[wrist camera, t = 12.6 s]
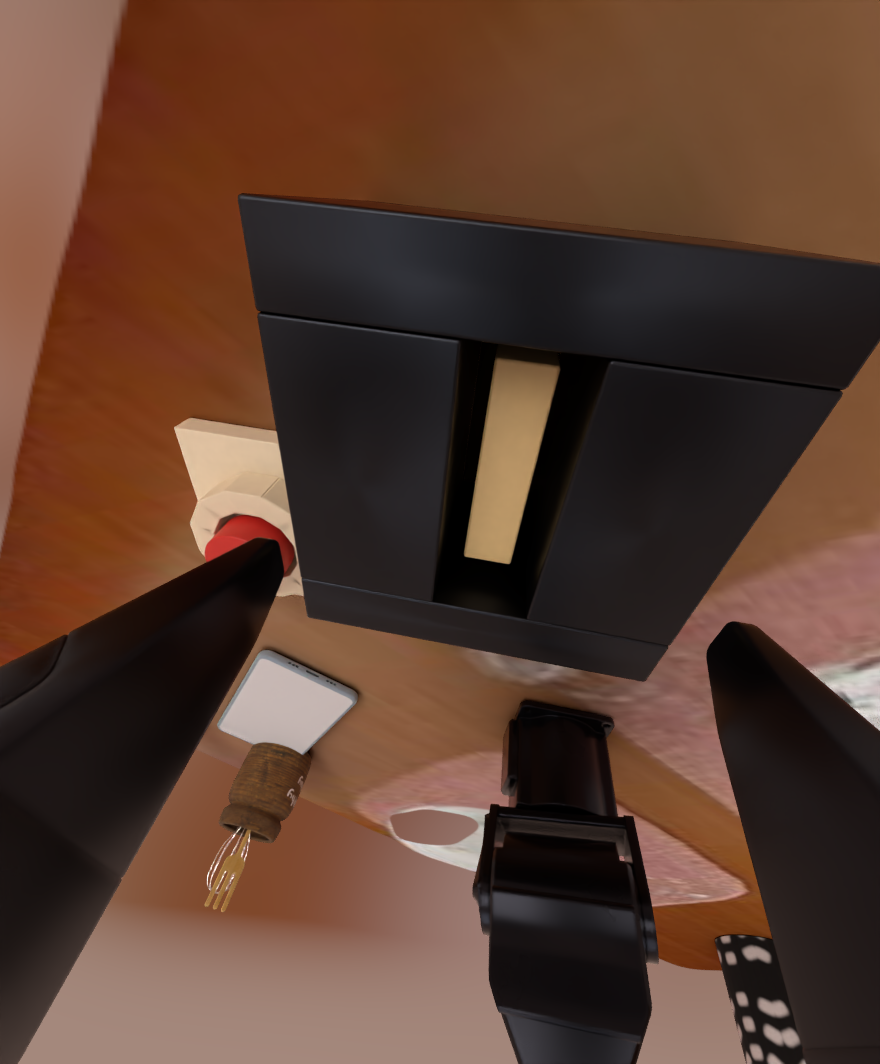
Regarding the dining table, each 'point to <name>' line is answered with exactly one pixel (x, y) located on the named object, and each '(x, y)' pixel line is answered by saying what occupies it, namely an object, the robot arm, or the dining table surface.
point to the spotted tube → (759, 1000)
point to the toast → (510, 448)
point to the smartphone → (285, 704)
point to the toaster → (573, 423)
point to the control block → (237, 482)
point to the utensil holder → (259, 803)
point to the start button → (248, 537)
